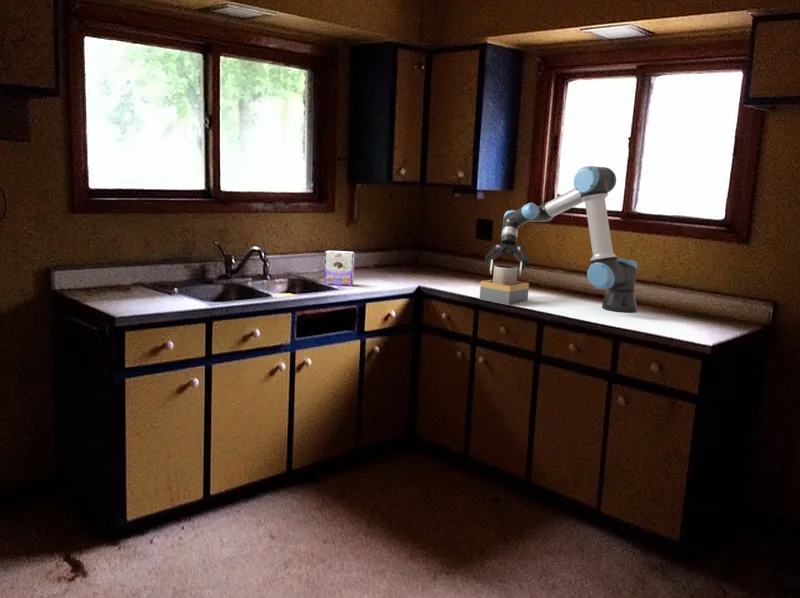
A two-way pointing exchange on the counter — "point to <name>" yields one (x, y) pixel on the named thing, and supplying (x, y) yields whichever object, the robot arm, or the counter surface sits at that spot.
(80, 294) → the counter surface
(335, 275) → the candy box
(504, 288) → the square cup holder
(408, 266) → the counter surface
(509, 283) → the planter
